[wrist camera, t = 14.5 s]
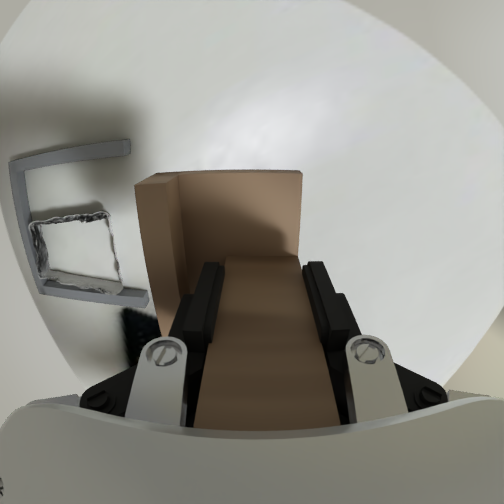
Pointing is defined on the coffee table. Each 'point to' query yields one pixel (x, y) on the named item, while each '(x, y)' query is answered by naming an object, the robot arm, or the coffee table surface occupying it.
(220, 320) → the tan l-shaped bracket
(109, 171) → the coffee table surface
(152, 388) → the robot arm
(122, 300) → the bay
